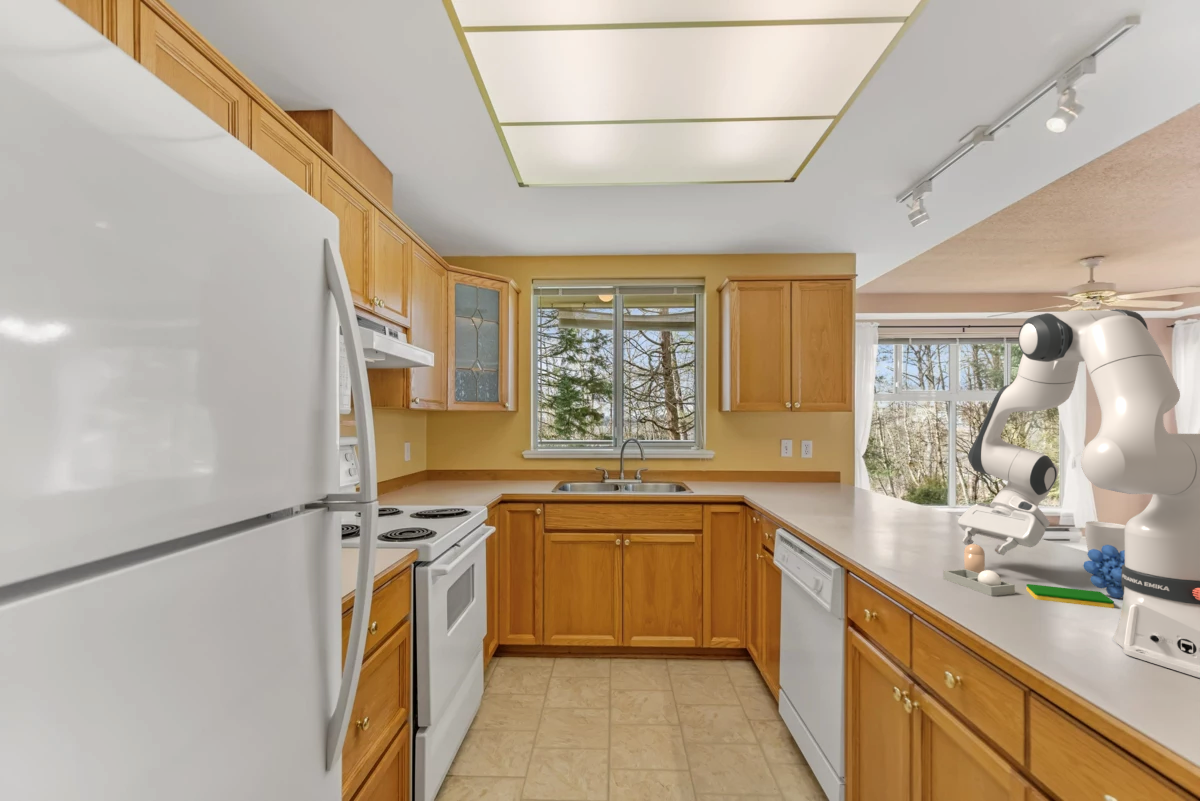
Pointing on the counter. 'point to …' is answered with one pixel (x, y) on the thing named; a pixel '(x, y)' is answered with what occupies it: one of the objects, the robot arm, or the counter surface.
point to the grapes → (1106, 569)
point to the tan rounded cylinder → (974, 558)
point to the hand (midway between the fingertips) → (981, 548)
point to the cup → (1104, 535)
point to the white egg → (989, 578)
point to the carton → (971, 581)
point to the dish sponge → (1070, 595)
